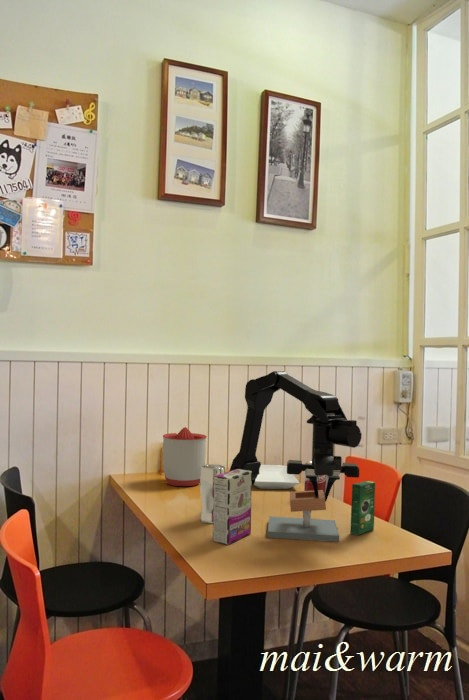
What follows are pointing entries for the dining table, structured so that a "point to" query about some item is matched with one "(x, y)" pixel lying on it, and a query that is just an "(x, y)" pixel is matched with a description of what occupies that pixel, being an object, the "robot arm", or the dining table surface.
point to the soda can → (320, 482)
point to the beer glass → (208, 489)
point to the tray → (275, 477)
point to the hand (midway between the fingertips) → (321, 501)
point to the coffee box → (362, 507)
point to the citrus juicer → (183, 457)
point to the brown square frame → (307, 501)
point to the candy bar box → (232, 506)
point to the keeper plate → (303, 528)
